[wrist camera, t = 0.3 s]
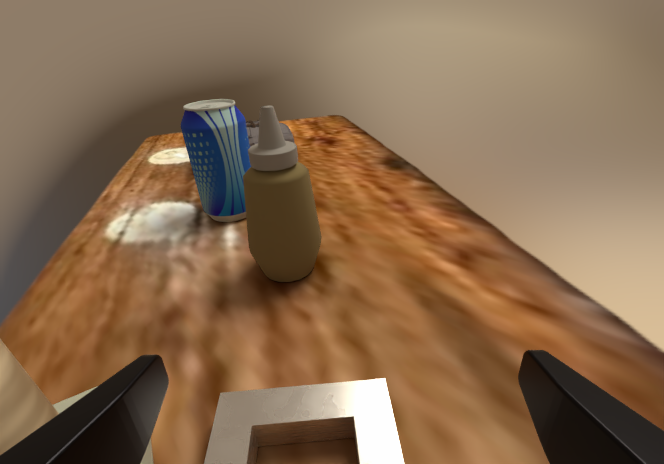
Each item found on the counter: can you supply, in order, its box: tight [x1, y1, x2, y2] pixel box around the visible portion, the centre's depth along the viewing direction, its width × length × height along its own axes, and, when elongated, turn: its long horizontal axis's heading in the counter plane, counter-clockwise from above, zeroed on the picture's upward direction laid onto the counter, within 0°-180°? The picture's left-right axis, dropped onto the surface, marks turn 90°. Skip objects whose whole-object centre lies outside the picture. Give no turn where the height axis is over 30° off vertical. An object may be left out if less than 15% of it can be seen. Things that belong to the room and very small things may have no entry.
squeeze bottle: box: [243, 106, 321, 282], centre depth 35 cm, size 8×8×18 cm
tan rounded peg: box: [0, 339, 59, 455], centre depth 17 cm, size 4×4×13 cm
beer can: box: [181, 99, 251, 222], centre depth 49 cm, size 8×8×16 cm
